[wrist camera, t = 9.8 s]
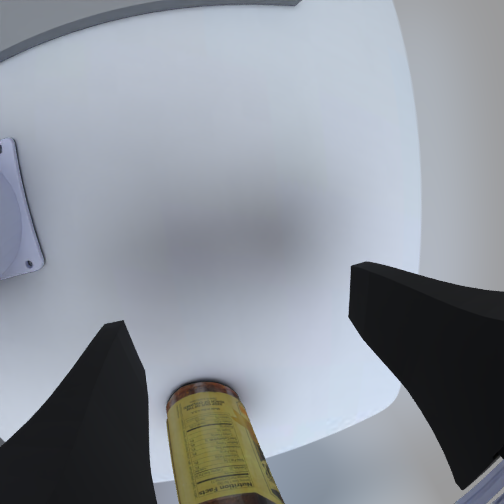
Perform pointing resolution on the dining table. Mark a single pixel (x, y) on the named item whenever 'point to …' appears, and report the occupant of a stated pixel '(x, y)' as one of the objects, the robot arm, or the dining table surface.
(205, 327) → the dining table surface
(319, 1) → the dining table surface
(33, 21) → the post board
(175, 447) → the sauce bottle
